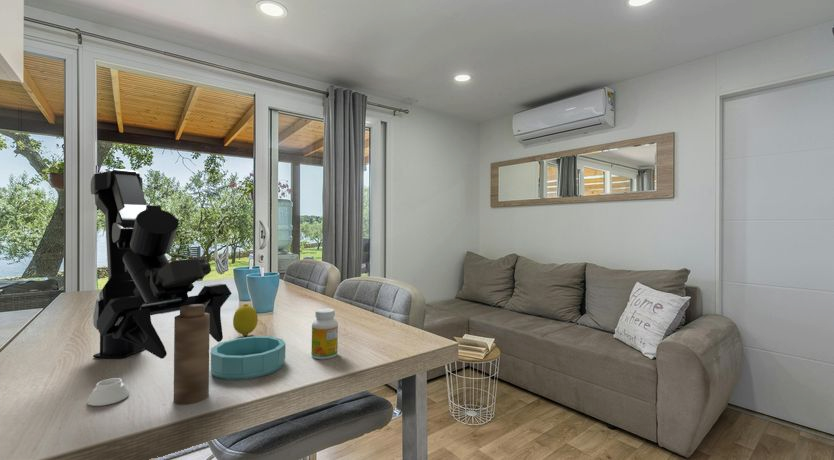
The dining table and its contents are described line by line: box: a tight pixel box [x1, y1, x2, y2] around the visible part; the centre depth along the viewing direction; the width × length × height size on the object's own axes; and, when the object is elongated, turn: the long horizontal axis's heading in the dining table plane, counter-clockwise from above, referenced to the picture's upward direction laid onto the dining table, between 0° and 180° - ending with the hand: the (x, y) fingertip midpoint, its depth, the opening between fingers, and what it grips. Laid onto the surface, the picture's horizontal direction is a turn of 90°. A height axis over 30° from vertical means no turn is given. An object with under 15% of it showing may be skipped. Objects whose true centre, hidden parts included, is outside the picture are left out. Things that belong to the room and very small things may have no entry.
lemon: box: [232, 303, 258, 337], centre depth 93 cm, size 6×6×8 cm
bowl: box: [210, 335, 286, 381], centre depth 73 cm, size 13×13×4 cm
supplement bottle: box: [311, 307, 339, 360], centre depth 80 cm, size 5×5×10 cm
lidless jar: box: [86, 377, 130, 407], centre depth 59 cm, size 5×3×5 cm
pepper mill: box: [173, 304, 210, 405], centre depth 60 cm, size 5×5×14 cm
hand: (194, 348), depth 60 cm, fingers open, 9 cm apart
